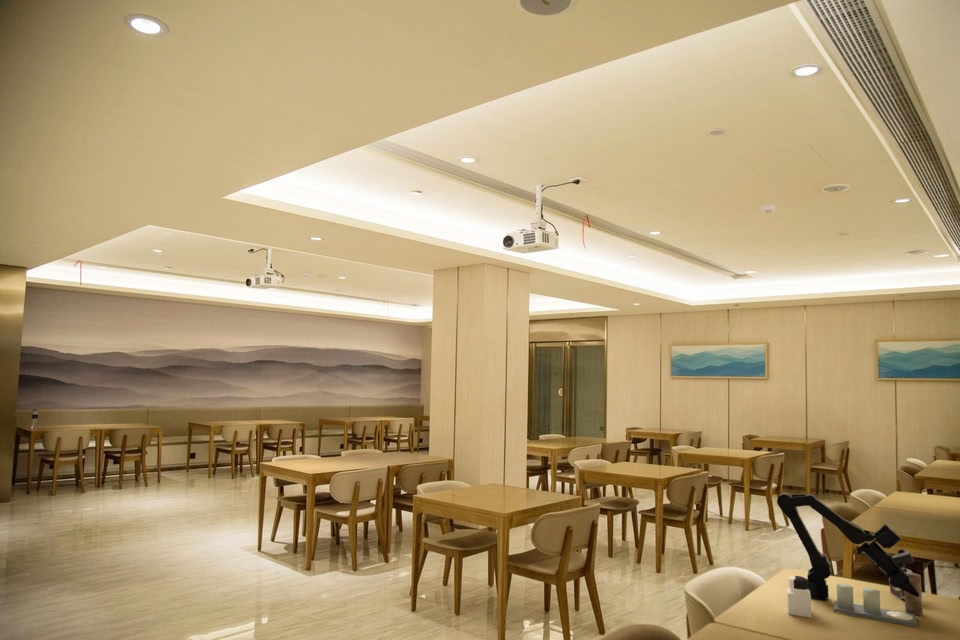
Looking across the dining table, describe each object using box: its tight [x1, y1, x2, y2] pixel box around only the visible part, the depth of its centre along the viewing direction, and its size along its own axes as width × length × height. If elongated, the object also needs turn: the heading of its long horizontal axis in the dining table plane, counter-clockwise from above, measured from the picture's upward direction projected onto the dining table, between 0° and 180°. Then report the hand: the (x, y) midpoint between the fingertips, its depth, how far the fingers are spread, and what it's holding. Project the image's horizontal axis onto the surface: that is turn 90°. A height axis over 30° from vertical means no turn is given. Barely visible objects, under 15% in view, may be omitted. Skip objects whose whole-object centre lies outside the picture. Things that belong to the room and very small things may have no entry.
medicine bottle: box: [786, 575, 813, 618], centre depth 220 cm, size 7×7×12 cm
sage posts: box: [836, 583, 881, 614], centre depth 222 cm, size 13×5×7 cm, turn 58°
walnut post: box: [904, 572, 924, 616], centre depth 223 cm, size 5×5×13 cm
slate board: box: [832, 600, 918, 628], centre depth 219 cm, size 24×10×1 cm, turn 58°
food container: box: [889, 567, 913, 601], centre depth 240 cm, size 12×6×10 cm, turn 168°
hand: (917, 594), depth 222 cm, fingers closed on walnut post, 5 cm apart
